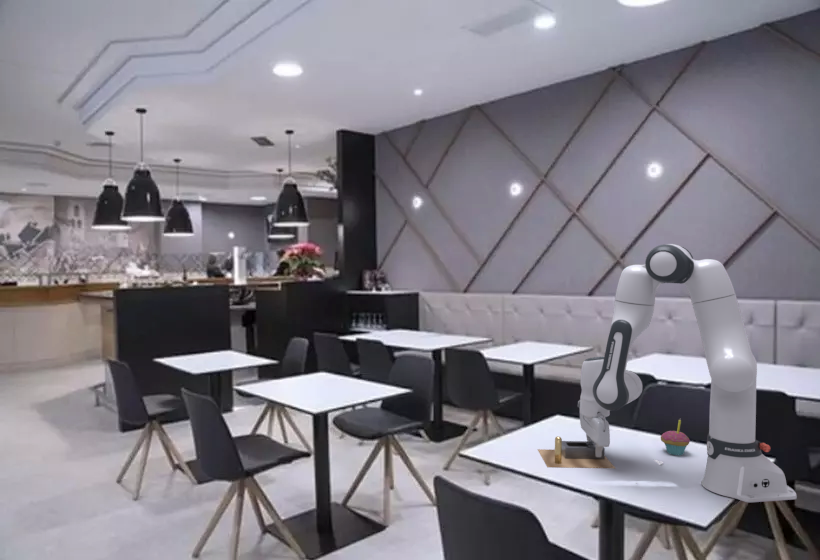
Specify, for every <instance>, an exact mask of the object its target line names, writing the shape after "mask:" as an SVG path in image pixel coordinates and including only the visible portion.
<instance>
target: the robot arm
mask: <svg viewBox="0 0 820 560" xmlns="http://www.w3.org/2000/svg"><path fill="white" fill-rule="evenodd" d="M662 284H681V285H682V284H683V285H684V286H685V287H686V289H687V291H688V292H687V293H688V295H689V297H690V301H691V305H692V308H693V312H694V316H695V319H696V323H697V326H698V329H699V330H698V331H699V333H700V338H701V343H702V347H703V353H704V356H705V362H706V364H707V368H708V373H709V375H710V379H711V381H710V395H709V397H710V398H709V399H710V400H709V418H708V419H709V423H708V424H709V427H708V429H709V430H708V433H707V437H706V438H707V439H706V455H707V458H706V464H705V465H706V467H705V470H704V474H703V478H702V481H701V485H702V486H703V488H705V490H708V491H710V492H712V493H715V494H717V495H720V496H724V497H728V498H732V499H736V500H739V501H742V502H745V503H759V502H760V503H762V502H776V501H777V502H778V501H788V500H789V501H792V500H797V499H798V498H797V497H798V496H797V493H796V491H795V490H794V489H793V488H792V487H791V486H789V485H787V480H786V476H785V473H784V471H783V470H782V468H780V467H779V466H778V465H776V464H775V463H774V462H773V461H771V460H770V459H769V458H768V457H766V456H765V455H764V454H763V453H762V451H763V452H765V453H769V452H770V451H771V446H770V445H769V444H768V443H767V444H766V442H761V441H759V440H757V439H756V427H757V425H756V424H757V423H756V420H757V419H756V417H757V416H756V415H757V376H758V375H757V374H758V363H757V359H756V357H755V355H754V354H753V352H752V348H751V343H750V341H749V337H748V333H747V330H746V329H747V328H746V326H745V322H744V318H743V315H742V312H741V309H740V305H739V302H738V298H737V294H736V291H735V289H734V286H733V283H732V280H731V278H730V275H729V274H728V271H727V270H726V268H725V266H724V264H723V263H722V262H720V261H719V260H716V259H712V258H711V259H710V258H704V259H700V260H699V259H698V260H696V259H694V256H693V255H692V252H690V251H689V250H688V249H687V248H686V247H684V246H681V245H678V244H674V243H666V244H660V245H657V246H655V247H654V248H652V249H651V250H650V251H649V252H648V254H647V255H646V257H645V262H644V264H632V265H631V264H630V265H628V266H627V267H624V269H623V270H622V272H621V274H620V276H619V279H618V283H617V287H616V290H615V297H614V298H615V299H614V304H613V311H612V320H611V325H610V330H609V333H608V337H607V343H606V347H605V352H604V355H603V356H594V357H589V358H586V359H585V360H584V361H583V362H582V363H581V364H582V365H581V370H580V389H581V393H580V399H579V400H578V401H577V408H579V424H580V428H581V429H582V430H583V432H584V433H585V437H586V441H593V442H594V443H595V446H596V448H595V456H596V457H601V456H602V450H603V447H604V448H608V447H610V445H611V438H610V437H611V432H610V431H611V430H610V423H609V422H608V420H607V419H606V418H607V417H609V416H610V414H611V413H610V411H611V412H612V411H613V412H615V411H619V410H621V409H622V408H623V407H625V406H626V405H628V404H629V403H631V402H633V401H635V400H636V399H638V398H639V397H640V396H641V395H642V393H643V390H644V389H643V388H644V384H643V381H642V378H640V376H639V375H638V374H637V373H636V372H635V371H631V370H628V369H627V366H628V365H627V364H628V360H629V355H630V350H631V347H632V346H633V343H634V342H635V341H636V339H638V337H639V336H640V335H641V334H642V333H644V332H645V331H646V330H647V329H648V328H649V326H650V324H651V322H652V318H653V314H654V311H655V301H656V295H657V291H658V289H659V287H660V286H661V285H662Z"/></svg>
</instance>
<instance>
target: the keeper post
mask: <svg viewBox="0 0 820 560" xmlns="http://www.w3.org/2000/svg"><path fill="white" fill-rule="evenodd" d="M562 441H563V438H562V437H561V436H555V438H554V450H555V463H556V464H561V463H562Z"/></svg>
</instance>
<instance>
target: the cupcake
mask: <svg viewBox="0 0 820 560" xmlns="http://www.w3.org/2000/svg"><path fill="white" fill-rule="evenodd" d="M681 419H682V418H679V419H678V423H677V430H667V431H665V432H663V433H662V434H661V436H660V440H661V442H662V443H664V446H665V448H666V449H665V450H666V452H667V453H668V454H669V455H671V456H683V455H684V453H685V451H686V448H687V446H689V444H690V442H691V440H690V438H689V436H688V435H686V434H685V433H684V432H682V431H681V430H680V429H681V424H682V420H681Z"/></svg>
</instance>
